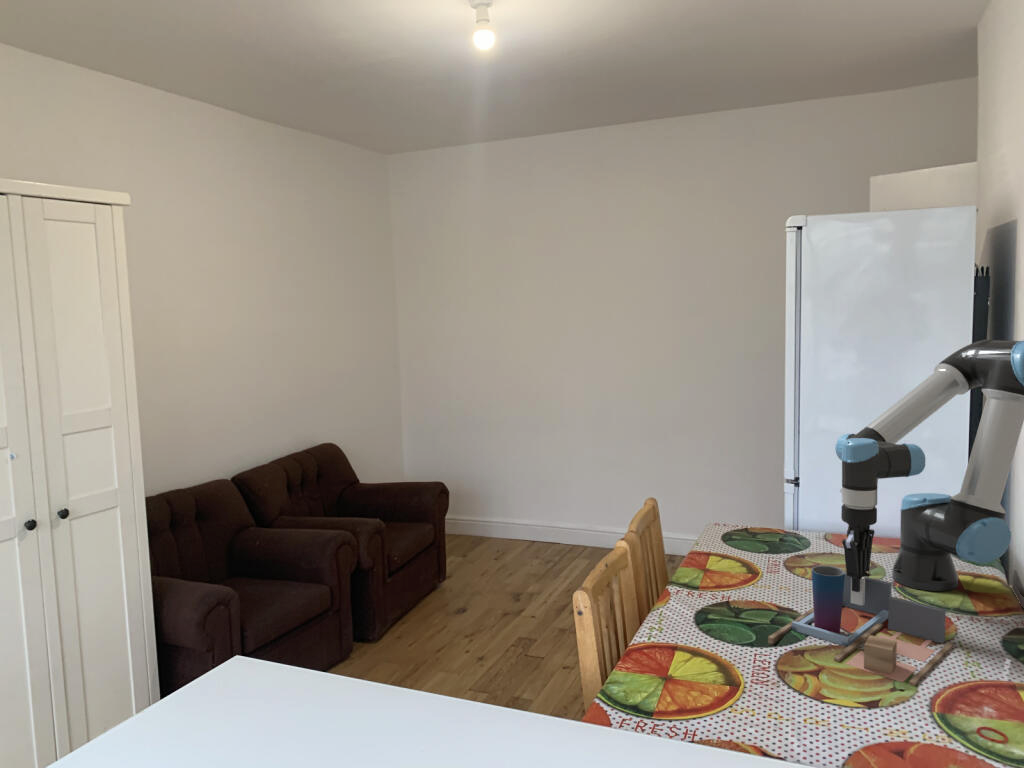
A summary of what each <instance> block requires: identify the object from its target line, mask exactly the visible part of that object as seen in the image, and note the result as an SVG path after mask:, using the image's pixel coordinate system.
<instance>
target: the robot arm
mask: <svg viewBox="0 0 1024 768" xmlns="http://www.w3.org/2000/svg"><path fill="white" fill-rule="evenodd" d="M977 387H981V392H982V393H983V395H984V397H985V399H986V400H985V403H984V407H983V410H982V413H981V416H980V417H981V418H980V421H979V423H978V424H979V425H978V428H977V432H976V435H975V437H974V442H973V445H972V448H971V452H970V456H969V459H968V463H967V467H966V470H965V474H964V477H963V480H962V483H961V488H960V491H959V492H958V493H957V494H954V495H953V496H951V495H950V494H945V493H937V492H936V493H932V492H931V493H930V492H928V493H927V492H925V493H924V492H923V493H921V492H919V493H910V494H906V495H904V497H903V498H902V499H901V506H900V539H899V541H900V547H899V551H898V554H897V557H896V559H895V561H894V564H893V566H892V573H891V574H892V575H891V576H892V577H891V578H892V579H893V580H894V581H895V582H896V583H898V584H900V585H902V586H905V587H908V588H912V589H917V590H922V591H932V592H945V591H952V590H954V589H956V588H957V587H958V586H959V585H958V584H959V576H958V572H957V570H956V566H955V563H954V560H953V557H952V555H953V556H957V557H959V558H961V559H962V560H965V561H969V562H972V563H973V562H974V563H976V564H989V563H993V562H994V561H996V560H997V559H1000V558H1001V557H1002V556H1003V555H1004V554H1005V553H1006V551H1007V550H1008V548H1009V546H1010V544H1011V540H1012V532H1011V531H1010V530H1011V528H1010V526H1009V524H1008V523H1007V522H1006V521H1005V520H1004V519H1005V516H1006V510H1005V509H1004V507H1003V506H1002V504H1001V502H1002V499H1003V495H1004V492H1005V487H1006V484H1007V480H1008V477H1009V473H1010V471H1011V468H1012V467H1011V466H1012V463H1013V460H1014V456H1015V453H1016V449H1017V446H1018V442H1019V439H1020V435H1021V433H1022V429H1023V425H1024V340H998V339H997V340H996V339H982V340H978V341H976V342H975V341H974V342H973V343H970V344H968V345H966V346H964V347H961V348H959V349H958V350H957V351H955V352H953V353H951V354H950V355H948V356H946V358H944V359H943V360H941V361H940V362H939V363H938V364H937V365H935V367H934V369H933V373H932V374H931V375H929V376H927V378H926V379H925V380H922V381H921V383H919V384H918V385H917V386H916V387H914V388H913V389H911V391H909V392H908V393H906V394H905V395H904V396H903V397H902V398H900V399H899V400H898V401H897V402H895V403H894V404H893V405H892V406H890V407H889V408H888V409H886V410H885V411H884V412H882V414H881V415H879V416H877V417H876V418H875V419H874V420H872V421H871V422H870V423H869V424H868V425H867V426H865V427H864V428H862V429H861V430H860V431H859V432H857V433H845V434H843V435H842V436H840V437H839V438H838V439H837V440H836V443H835V453H836V456H837V457H838V459H839V460H840V461H841V488H840V491H839V492H840V493H841V503H842V505H841V514H840V515H841V517H840V518H841V521H842V522H843V523H846V524H847V525H848V526H847V531H846V537H847V539H845V538H843V539H842V547H843V551H844V561H845V572H846V573H847V574H846V575H847V576H849V577H851V603H853V604H857V605H861V606H863V605H864V604H865V577H868V578H870V573H869V571H870V567H871V559H872V558H871V557H872V549H873V540H874V535H875V529H872V528H871V526H873V525H875V524H876V523H877V522H878V509H877V507H876V506H878V481H879V480H881V479H893V478H908V477H913V476H917V475H920V474H921V473H923V471H924V469H925V467H926V454H925V452H924V451H923V449H922V448H921V447H920V446H919V445H917V444H915V443H900V444H897V443H898V442H899V441H901V440H902V439H903V438H904V437H906V436H907V435H908V434H909V433H910V432H912V431H913V430H914V429H915V428H917V427H918V426H919V425H920V424H922V423H923V422H924V421H926V420H927V419H929V418H930V417H931V416H932V415H933V414H934V413H936V412H938V410H940V409H941V408H942V407H943V406H945V405H946V404H947V403H949V401H951V400H952V399H953V398H955V397H956V396H958V395H960V396H962V395H965V394H966V393H967V392H969V391H971V390H972V389H974V388H977Z"/></svg>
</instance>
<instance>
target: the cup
mask: <svg viewBox="0 0 1024 768" xmlns="http://www.w3.org/2000/svg"><path fill="white" fill-rule="evenodd" d="M845 572H846V570H845V569H842V568H840V567H837V566H833V565H815V566H813V567H811V587H812V602H813V607H814V620H813V621H814V627H817V628H820V629H824V630H827V631H831V632H834V633H838V634H841V624H842V611H843V606H842V603H843V591H844V579H845Z"/></svg>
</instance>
